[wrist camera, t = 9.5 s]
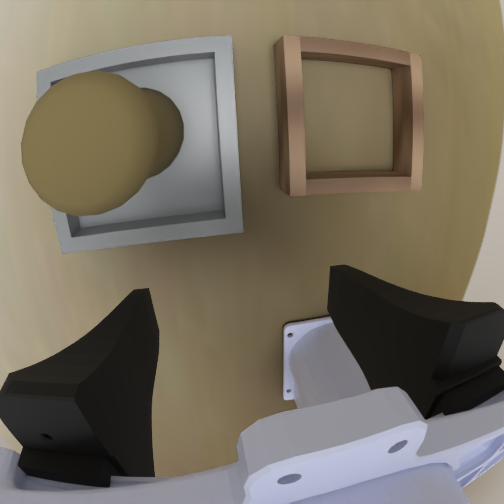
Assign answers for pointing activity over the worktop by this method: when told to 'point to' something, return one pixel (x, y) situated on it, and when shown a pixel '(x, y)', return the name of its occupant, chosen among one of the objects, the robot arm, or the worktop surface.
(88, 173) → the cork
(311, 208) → the worktop surface
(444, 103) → the worktop surface
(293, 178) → the wooden square frame
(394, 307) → the robot arm
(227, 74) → the tray
